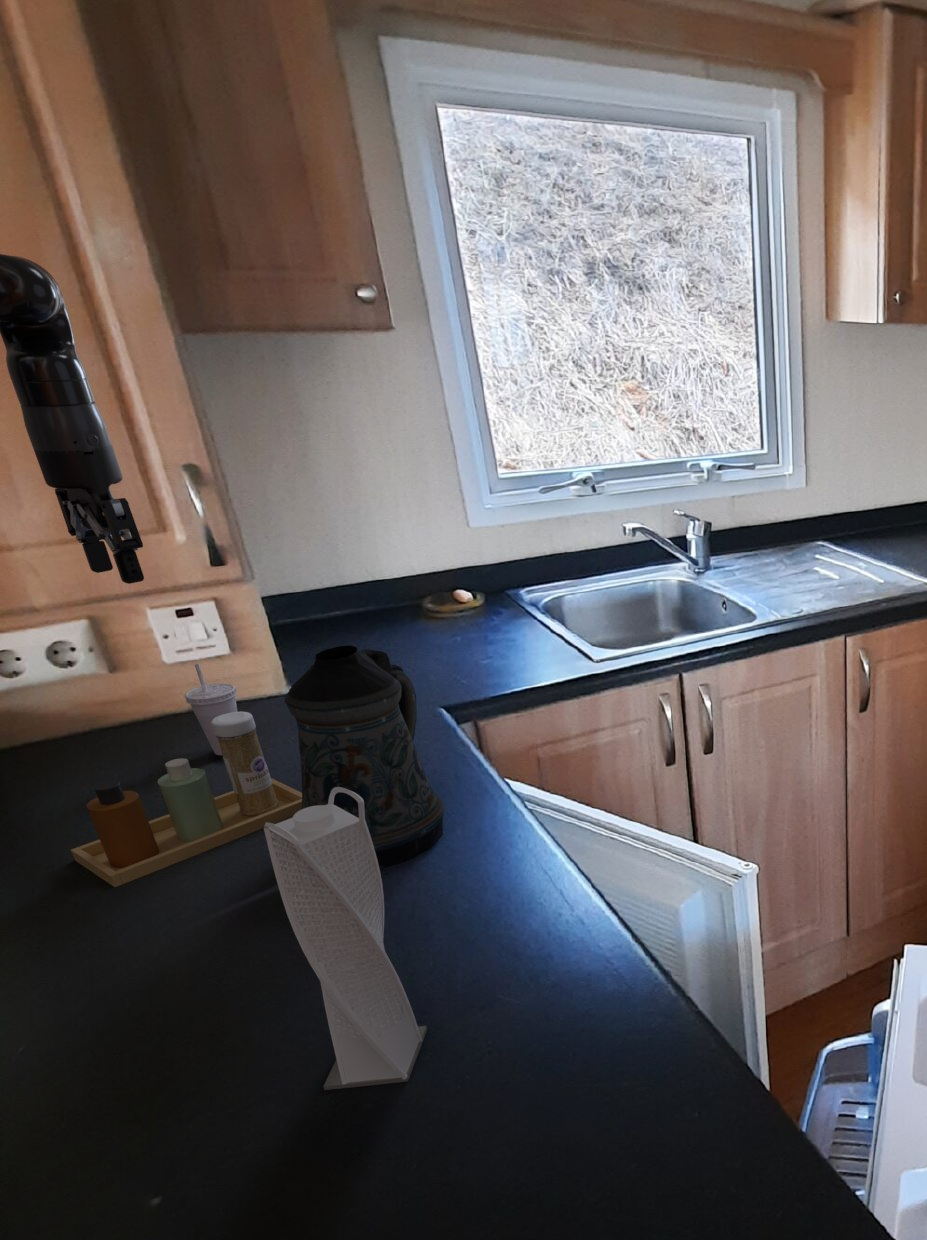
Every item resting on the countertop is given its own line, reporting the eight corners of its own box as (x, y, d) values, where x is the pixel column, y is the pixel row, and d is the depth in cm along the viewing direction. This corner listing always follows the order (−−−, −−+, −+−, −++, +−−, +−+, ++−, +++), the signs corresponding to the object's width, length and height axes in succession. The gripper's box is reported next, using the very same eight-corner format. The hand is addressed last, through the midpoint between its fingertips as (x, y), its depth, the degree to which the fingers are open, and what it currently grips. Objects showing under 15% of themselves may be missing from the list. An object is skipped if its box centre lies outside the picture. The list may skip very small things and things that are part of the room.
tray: (116, 891, 114) (110, 876, 113) (76, 864, 119) (70, 849, 118) (315, 811, 132) (311, 797, 131) (273, 790, 137) (269, 777, 136)
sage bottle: (189, 846, 122) (163, 774, 118) (169, 834, 124) (144, 764, 120) (231, 829, 126) (208, 760, 121) (211, 819, 128) (188, 750, 124)
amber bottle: (121, 872, 116) (91, 799, 112) (102, 860, 119) (72, 787, 114) (167, 854, 120) (140, 782, 116) (148, 843, 123) (121, 772, 118)
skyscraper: (443, 1027, 94) (379, 768, 82) (421, 1088, 87) (348, 815, 74) (349, 1036, 93) (270, 774, 80) (320, 1099, 86) (227, 823, 73)
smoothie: (196, 751, 147) (166, 664, 141) (241, 737, 152) (214, 652, 146) (216, 763, 144) (186, 674, 138) (261, 748, 149) (235, 661, 143)
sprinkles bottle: (268, 817, 129) (239, 724, 123) (233, 817, 129) (202, 724, 123) (286, 800, 133) (259, 710, 127) (252, 801, 133) (223, 710, 127)
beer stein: (296, 884, 116) (236, 688, 105) (317, 810, 132) (266, 633, 121) (447, 859, 121) (405, 670, 110) (449, 791, 138) (413, 620, 126)
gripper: (9, 441, 117) (59, 574, 125) (61, 453, 111) (110, 592, 118) (82, 435, 123) (125, 562, 130) (135, 445, 116) (178, 579, 124)
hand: (118, 576), depth 124 cm, fingers open, 8 cm apart
